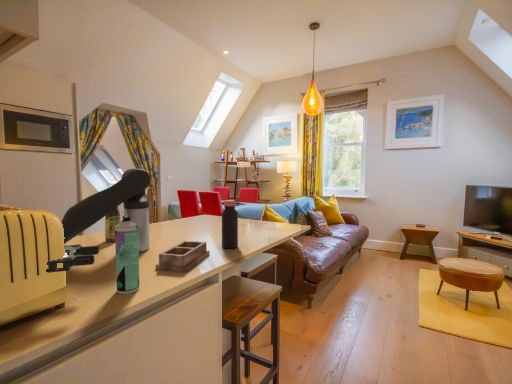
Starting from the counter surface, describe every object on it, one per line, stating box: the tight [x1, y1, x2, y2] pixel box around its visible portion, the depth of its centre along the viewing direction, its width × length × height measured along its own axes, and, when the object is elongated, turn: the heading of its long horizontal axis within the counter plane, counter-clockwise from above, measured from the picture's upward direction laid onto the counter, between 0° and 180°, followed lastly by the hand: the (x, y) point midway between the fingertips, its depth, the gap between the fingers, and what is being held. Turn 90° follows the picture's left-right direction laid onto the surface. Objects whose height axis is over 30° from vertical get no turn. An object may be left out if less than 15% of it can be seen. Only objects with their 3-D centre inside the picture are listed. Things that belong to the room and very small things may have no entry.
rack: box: [155, 240, 210, 273], centre depth 94 cm, size 11×19×5 cm, turn 168°
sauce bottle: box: [104, 206, 121, 243], centre depth 122 cm, size 7×6×20 cm
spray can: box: [114, 215, 140, 295], centre depth 70 cm, size 6×6×20 cm
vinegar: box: [221, 199, 239, 250], centre depth 112 cm, size 7×7×20 cm
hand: (96, 254), depth 67 cm, fingers open, 8 cm apart
